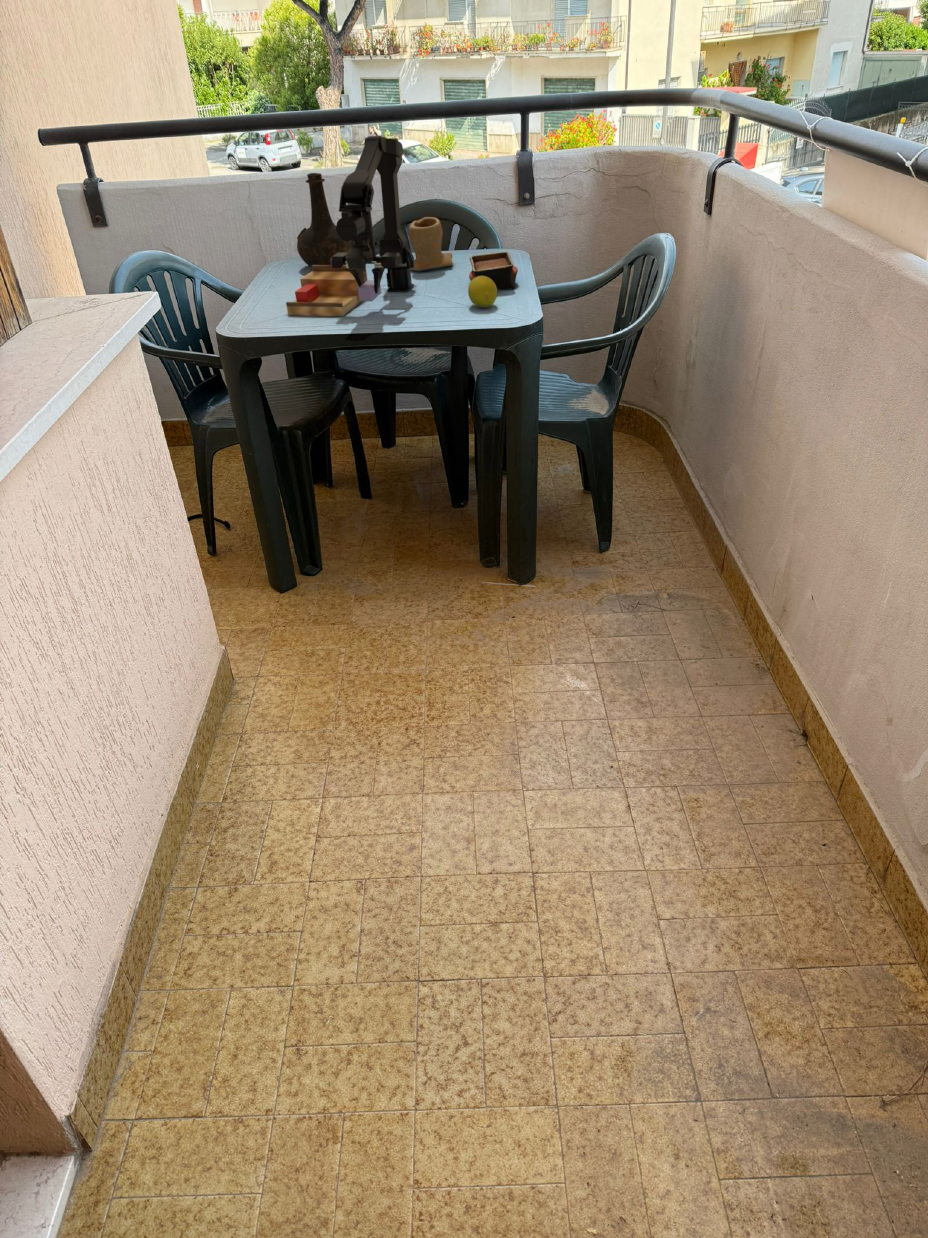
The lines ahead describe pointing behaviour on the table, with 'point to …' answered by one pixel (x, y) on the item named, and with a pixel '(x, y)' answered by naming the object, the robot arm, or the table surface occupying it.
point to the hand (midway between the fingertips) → (370, 292)
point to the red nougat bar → (307, 293)
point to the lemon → (482, 291)
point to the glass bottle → (319, 229)
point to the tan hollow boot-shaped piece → (428, 244)
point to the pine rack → (328, 292)
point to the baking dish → (495, 269)
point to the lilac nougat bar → (368, 291)
